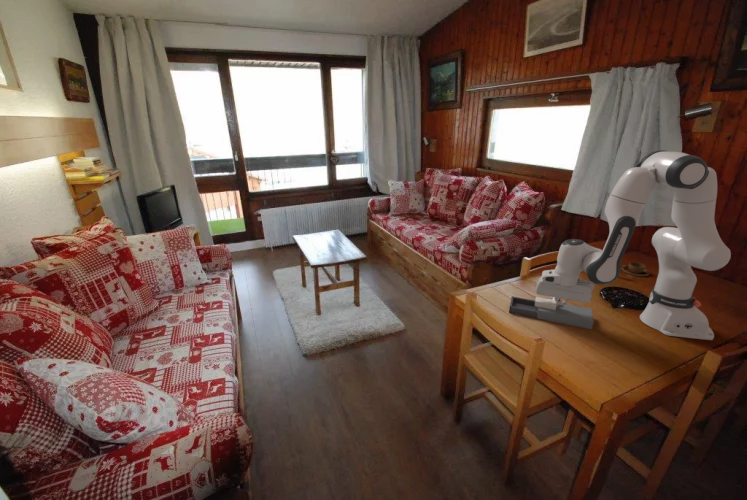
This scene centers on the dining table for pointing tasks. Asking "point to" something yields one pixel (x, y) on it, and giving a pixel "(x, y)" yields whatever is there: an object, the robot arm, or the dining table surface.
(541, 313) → the long flat grey base
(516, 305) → the tray
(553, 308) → the tile
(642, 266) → the place setting
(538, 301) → the tile
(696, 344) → the dining table surface
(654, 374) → the dining table surface
